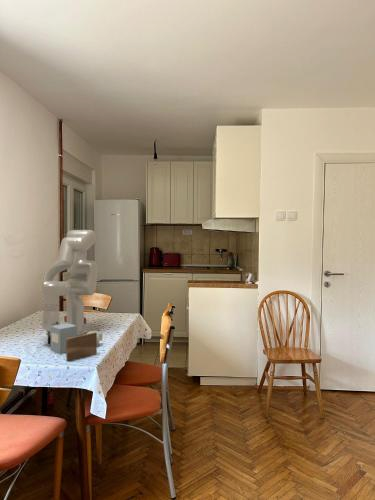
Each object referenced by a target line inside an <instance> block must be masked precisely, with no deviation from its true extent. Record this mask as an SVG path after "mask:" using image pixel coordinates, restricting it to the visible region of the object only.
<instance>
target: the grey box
mask: <svg viewBox="0 0 375 500" xmlns="http://www.w3.org/2000/svg"><path fill="white" fill-rule="evenodd" d="M50 331H51V344H50V351H51V352H53V353H56V354H58V355H63V353H64V354H66V338H71V337H76V336H78V335H77V326H76V325H72V324H69V323H67V322H64V323H60V324H59V325H54V326H50Z"/></svg>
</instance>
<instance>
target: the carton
mask: <svg viewBox="0 0 375 500" xmlns="http://www.w3.org/2000/svg"><path fill="white" fill-rule="evenodd" d="M63 316H64V317H63V320H64V323H67V314H66V315H63ZM85 324H86V325H87V317H84V325H85Z"/></svg>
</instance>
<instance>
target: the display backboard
mask: <svg viewBox="0 0 375 500" xmlns="http://www.w3.org/2000/svg"><path fill="white" fill-rule="evenodd" d="M97 348H98V347H97V333H96V332H94V333H90V334H87V333H85V334H81V335H77V336H76V337H71V338H66V353H65V354H66V356H65V359H66V362H71V361H75V360H79V359H82V358H86V357H90V356H93V355H97V354H98V352H97V351H98V350H97Z"/></svg>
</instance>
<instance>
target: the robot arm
mask: <svg viewBox="0 0 375 500" xmlns="http://www.w3.org/2000/svg"><path fill="white" fill-rule="evenodd" d="M96 239H97V234H96V231H94V230H92V229H73V230H72V229H71V230H68V231H67V233H66V237H64V238H62V239H61V242H60V247H59V251H58V255H57V259H56V261H55V263H54V264H53V265H51V266H50V267H49V269H48V270H47V271H46V273H45V274H44V278H43V281H42V287H41V289H42V293H43V294H42V295H43V297H42V298H43V302H42V303H43V306H42V307H43V308H42V309H43V312H42V319H41V321H42V322H41V323H42V324H41V325H42V326H41V328H42V329H43V330H45V331H46V334H47V344H48V345H51V331H50V326H54V325H59V324H61V320H60V319H61V318H60V297H64V296H65V297H66V298H65V299H66V315H67V322H66V323H69V324H72V325H76V326H77V336H80V335H85V334H87V332H88V330H87V329H86V328H85V324H84V318H85V303H84V299H83V297H82V296H92V295H94V294H95V292H96V290H97V281H98V273H99V267H98V264H97V262H96V261H95V260H88V259H87V258H88V252H87V251H88V250H89V249H90V248H91V247H92V246H93V245H94V244H95V243H96V241H97V240H96ZM69 268H70V269H69ZM67 269H69V273H70V276H73V277H81V278H69V279H67V280H66V281H61V280H60V281H58V280H57V281H55V280H54V279H55V277H56V276H57V275H58V274H60V273H61V272H63V271H65V270H67ZM83 277H85V278H83Z"/></svg>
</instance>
